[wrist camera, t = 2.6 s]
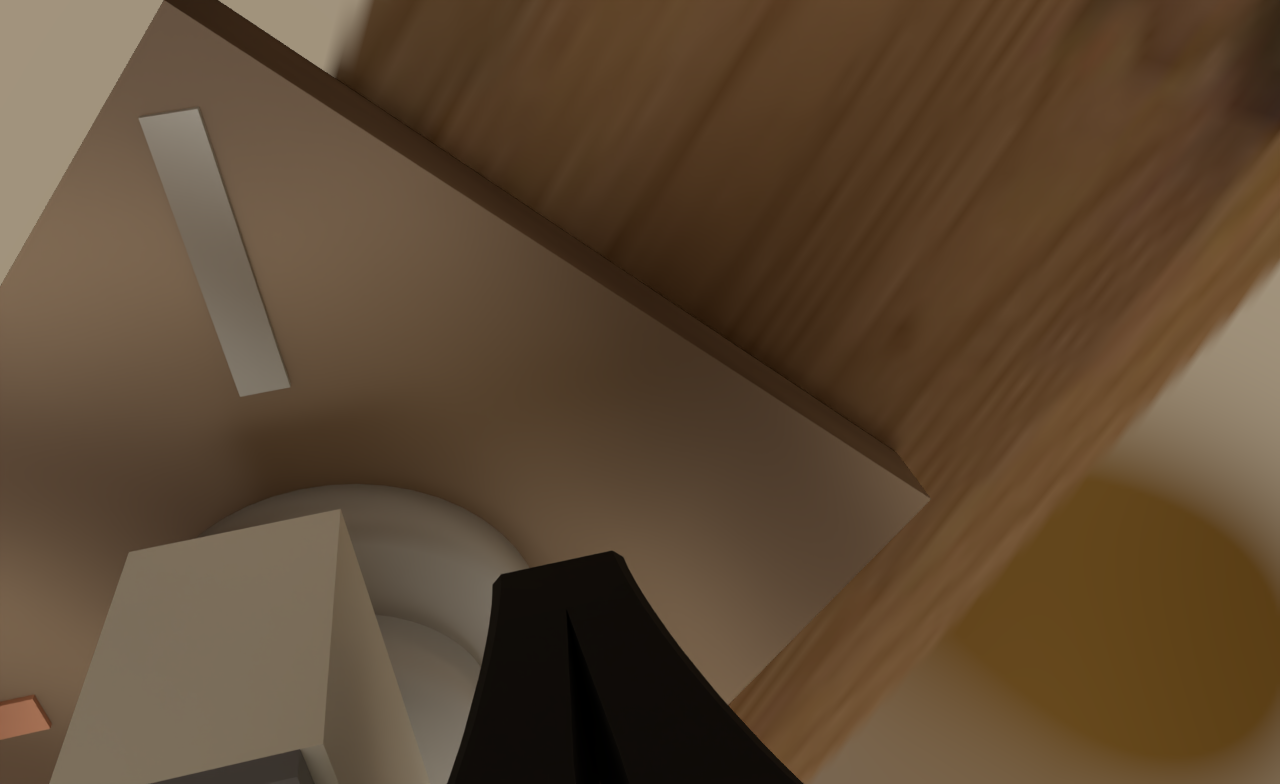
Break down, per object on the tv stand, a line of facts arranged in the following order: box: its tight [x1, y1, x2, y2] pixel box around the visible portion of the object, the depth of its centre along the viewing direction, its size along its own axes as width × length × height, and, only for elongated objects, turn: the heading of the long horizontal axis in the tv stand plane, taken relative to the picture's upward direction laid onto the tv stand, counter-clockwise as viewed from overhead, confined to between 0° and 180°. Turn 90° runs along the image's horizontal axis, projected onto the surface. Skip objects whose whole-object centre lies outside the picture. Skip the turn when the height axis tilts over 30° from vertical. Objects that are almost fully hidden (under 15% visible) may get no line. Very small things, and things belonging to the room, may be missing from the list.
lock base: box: [0, 0, 931, 784], centre depth 17 cm, size 15×14×3 cm
